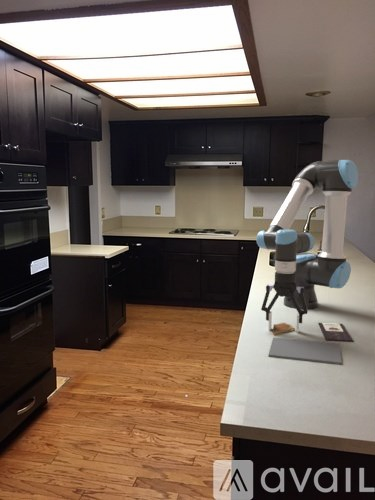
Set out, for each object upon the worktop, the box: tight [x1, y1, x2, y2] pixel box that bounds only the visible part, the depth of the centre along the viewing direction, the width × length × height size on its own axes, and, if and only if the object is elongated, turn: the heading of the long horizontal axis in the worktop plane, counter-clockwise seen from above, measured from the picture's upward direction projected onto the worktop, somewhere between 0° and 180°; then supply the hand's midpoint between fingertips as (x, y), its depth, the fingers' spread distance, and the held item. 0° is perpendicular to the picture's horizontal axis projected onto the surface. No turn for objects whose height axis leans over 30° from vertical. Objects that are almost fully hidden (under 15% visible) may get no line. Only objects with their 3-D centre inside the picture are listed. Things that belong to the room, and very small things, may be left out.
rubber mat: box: [268, 337, 343, 365], centre depth 135 cm, size 16×22×1 cm
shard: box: [272, 322, 296, 336], centre depth 155 cm, size 11×8×2 cm
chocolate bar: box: [318, 322, 354, 343], centre depth 152 cm, size 9×1×18 cm
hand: (283, 330), depth 154 cm, fingers open, 9 cm apart
